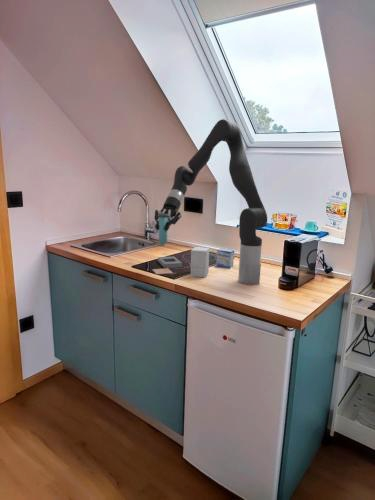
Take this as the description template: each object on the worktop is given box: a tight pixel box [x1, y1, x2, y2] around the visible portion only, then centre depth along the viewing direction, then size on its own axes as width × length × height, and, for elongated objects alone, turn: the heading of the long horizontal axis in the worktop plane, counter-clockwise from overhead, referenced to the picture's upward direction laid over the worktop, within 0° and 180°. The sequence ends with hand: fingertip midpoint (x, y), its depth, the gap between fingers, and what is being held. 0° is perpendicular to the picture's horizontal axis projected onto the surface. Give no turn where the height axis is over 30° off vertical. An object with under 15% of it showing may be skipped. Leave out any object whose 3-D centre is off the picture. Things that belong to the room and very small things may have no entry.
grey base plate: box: [157, 256, 183, 269], centre depth 193 cm, size 14×9×2 cm, turn 19°
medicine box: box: [215, 248, 235, 269], centre depth 193 cm, size 8×4×9 cm, turn 62°
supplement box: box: [190, 246, 210, 278], centre depth 177 cm, size 7×7×13 cm
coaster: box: [152, 268, 173, 275], centre depth 180 cm, size 8×8×1 cm
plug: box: [158, 213, 168, 245], centre depth 176 cm, size 5×5×14 cm
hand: (161, 229), depth 174 cm, fingers closed on plug, 4 cm apart
